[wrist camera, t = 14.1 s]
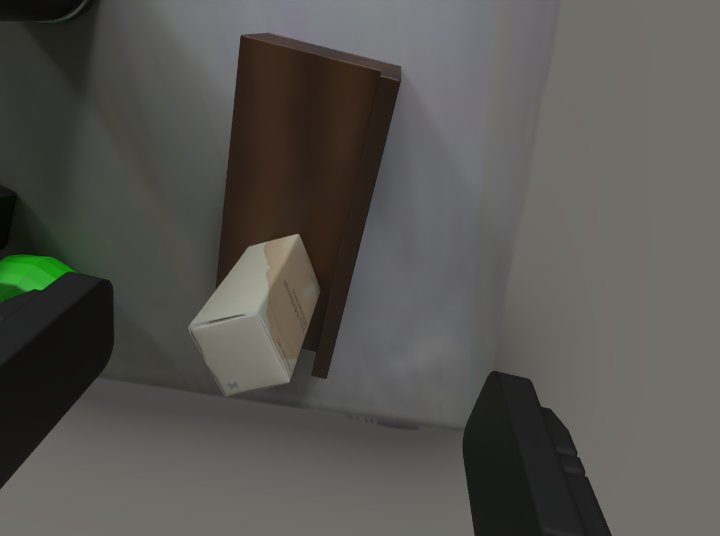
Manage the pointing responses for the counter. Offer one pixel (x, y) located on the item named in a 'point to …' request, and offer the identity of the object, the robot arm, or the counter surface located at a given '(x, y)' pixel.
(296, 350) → the box
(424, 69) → the counter surface
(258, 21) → the counter surface
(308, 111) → the shelf
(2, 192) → the phone stand
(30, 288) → the plastic bottle
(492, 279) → the counter surface
